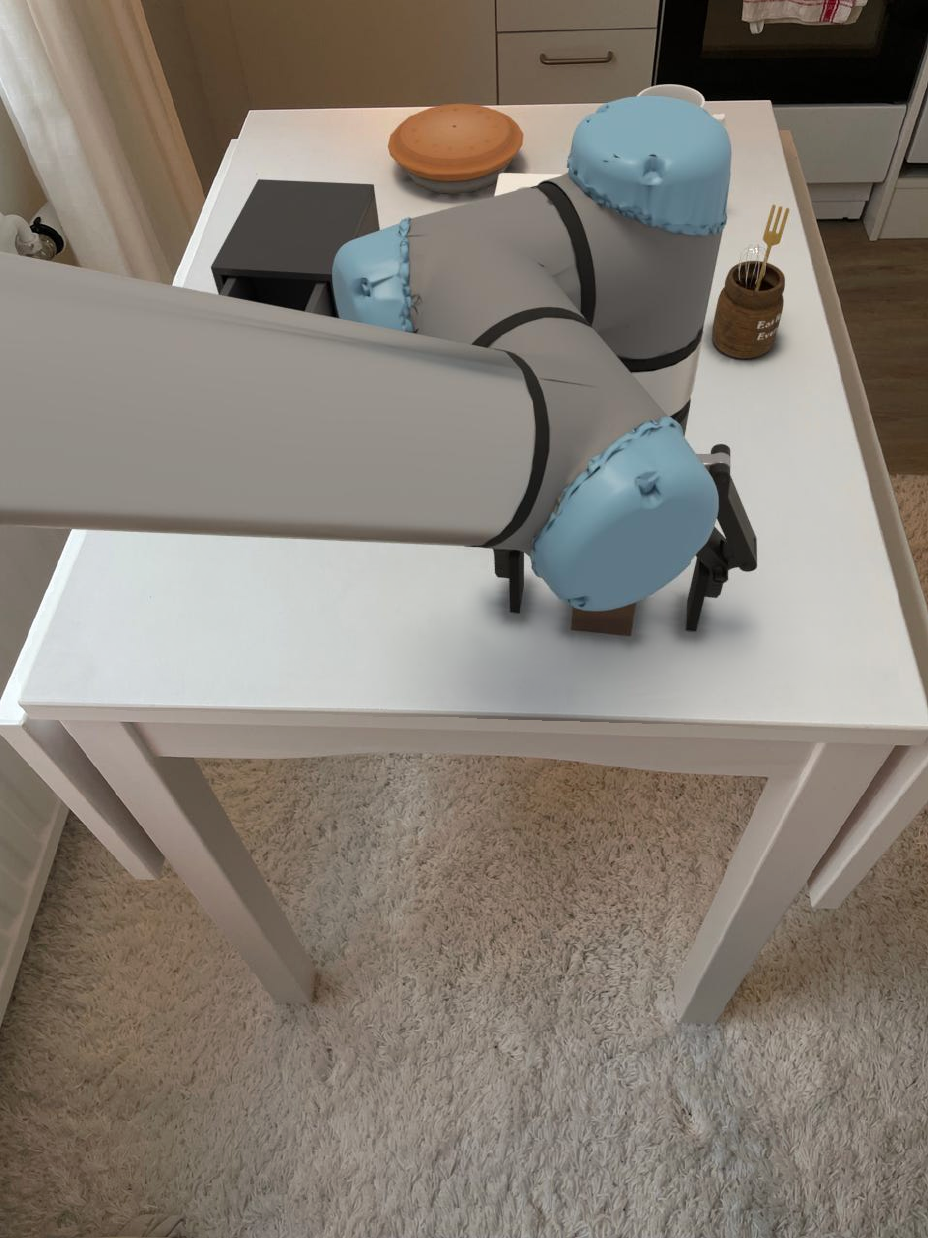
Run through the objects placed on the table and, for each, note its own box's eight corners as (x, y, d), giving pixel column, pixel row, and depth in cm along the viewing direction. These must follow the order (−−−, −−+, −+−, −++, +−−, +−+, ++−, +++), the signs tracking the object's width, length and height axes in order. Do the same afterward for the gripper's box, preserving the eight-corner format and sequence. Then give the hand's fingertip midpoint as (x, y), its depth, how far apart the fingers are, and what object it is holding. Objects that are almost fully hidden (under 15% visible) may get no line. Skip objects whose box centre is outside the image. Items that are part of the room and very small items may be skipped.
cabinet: (354, 371, 91) (336, 273, 83) (238, 363, 93) (210, 266, 84) (386, 280, 100) (373, 183, 91) (280, 274, 101) (258, 178, 93)
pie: (525, 134, 116) (526, 92, 112) (519, 205, 107) (519, 161, 103) (400, 135, 117) (395, 93, 113) (383, 205, 108) (378, 162, 104)
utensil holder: (700, 349, 90) (722, 234, 81) (725, 313, 94) (748, 197, 84) (760, 368, 89) (789, 252, 79) (783, 330, 92) (814, 213, 82)
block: (630, 637, 71) (636, 600, 68) (570, 630, 72) (573, 594, 68) (634, 589, 74) (640, 552, 70) (576, 584, 75) (579, 546, 71)
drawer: (309, 465, 83) (289, 385, 76) (196, 455, 84) (166, 376, 77) (357, 335, 93) (343, 254, 86) (255, 328, 94) (233, 248, 87)
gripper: (842, 360, 56) (768, 584, 73) (431, 335, 60) (453, 555, 77) (851, 449, 52) (770, 665, 69) (407, 417, 55) (436, 630, 72)
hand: (603, 607), depth 73 cm, fingers open, 13 cm apart
